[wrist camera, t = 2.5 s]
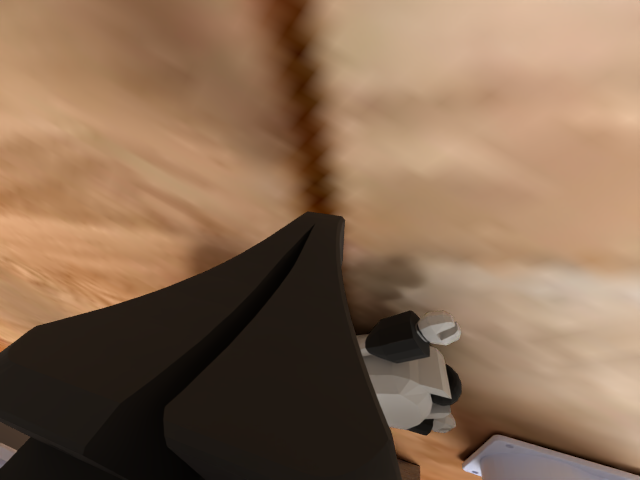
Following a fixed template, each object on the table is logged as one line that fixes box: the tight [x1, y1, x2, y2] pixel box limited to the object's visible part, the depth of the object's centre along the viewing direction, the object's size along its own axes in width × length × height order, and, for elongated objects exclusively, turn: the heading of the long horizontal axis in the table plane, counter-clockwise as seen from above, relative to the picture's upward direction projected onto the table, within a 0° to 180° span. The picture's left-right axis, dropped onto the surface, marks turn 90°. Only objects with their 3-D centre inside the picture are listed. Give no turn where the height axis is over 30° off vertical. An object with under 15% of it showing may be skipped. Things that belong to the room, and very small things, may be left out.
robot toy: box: [356, 311, 462, 435], centre depth 17 cm, size 12×4×15 cm
